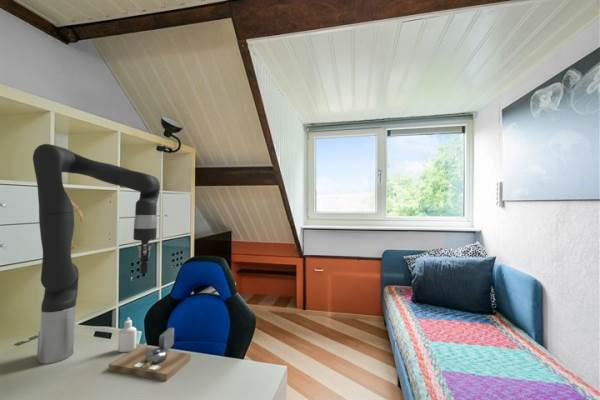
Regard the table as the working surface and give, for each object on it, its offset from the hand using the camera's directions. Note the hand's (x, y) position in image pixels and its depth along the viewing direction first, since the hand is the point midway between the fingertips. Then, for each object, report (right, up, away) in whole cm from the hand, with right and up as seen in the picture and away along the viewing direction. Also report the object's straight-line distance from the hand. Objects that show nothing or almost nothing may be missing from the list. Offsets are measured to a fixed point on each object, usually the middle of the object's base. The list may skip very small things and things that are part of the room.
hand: (143, 273), depth 100 cm
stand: (+8, -29, -9) cm, 31 cm away
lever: (+10, -26, -7) cm, 29 cm away
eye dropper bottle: (-6, -29, 0) cm, 30 cm away
